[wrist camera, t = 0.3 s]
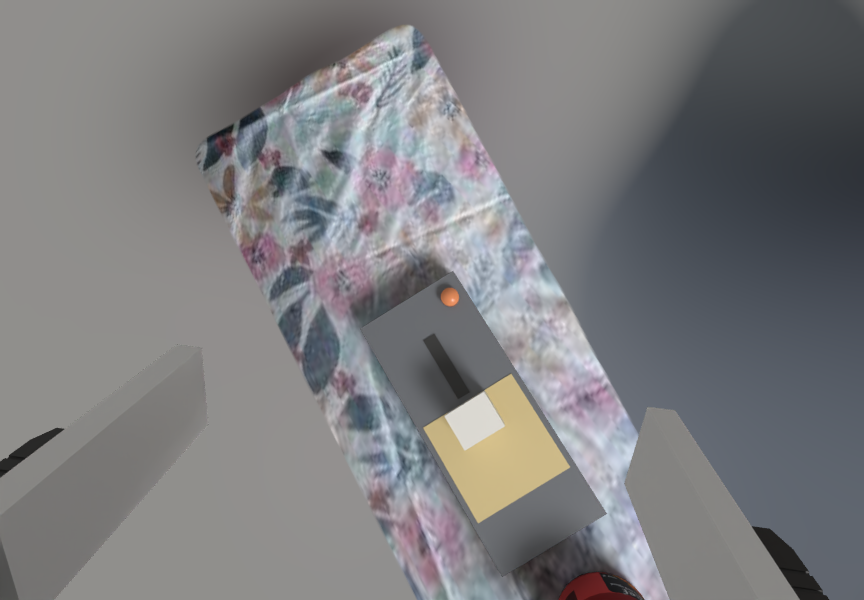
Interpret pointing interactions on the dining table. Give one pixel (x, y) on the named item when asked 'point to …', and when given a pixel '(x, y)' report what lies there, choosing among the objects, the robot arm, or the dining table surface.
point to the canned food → (600, 588)
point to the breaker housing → (498, 453)
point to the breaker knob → (474, 420)
